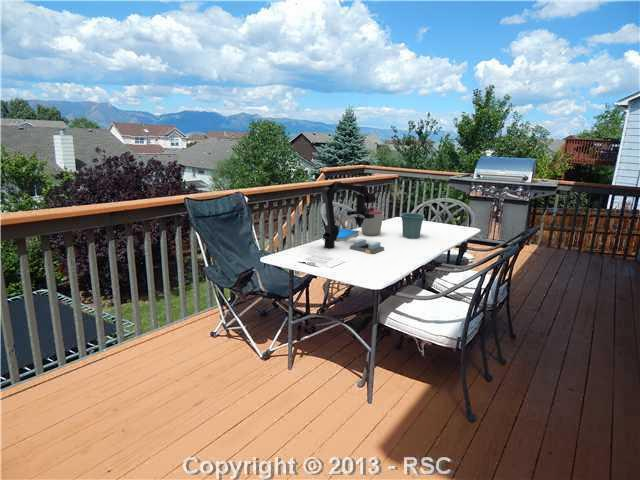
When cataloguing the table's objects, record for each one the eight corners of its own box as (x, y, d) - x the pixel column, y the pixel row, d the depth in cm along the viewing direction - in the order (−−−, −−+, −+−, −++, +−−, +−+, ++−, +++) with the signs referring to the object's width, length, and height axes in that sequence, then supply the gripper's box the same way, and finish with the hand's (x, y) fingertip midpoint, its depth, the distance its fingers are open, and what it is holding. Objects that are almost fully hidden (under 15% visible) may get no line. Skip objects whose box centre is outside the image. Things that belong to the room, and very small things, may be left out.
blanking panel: (372, 252, 251) (372, 245, 250) (368, 252, 253) (368, 244, 252) (380, 250, 258) (380, 242, 257) (376, 249, 260) (376, 241, 259)
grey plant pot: (384, 237, 295) (385, 208, 290) (359, 237, 295) (360, 208, 290) (381, 231, 312) (382, 204, 307) (357, 231, 313) (358, 204, 308)
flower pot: (421, 234, 305) (422, 213, 301) (424, 239, 289) (426, 217, 285) (398, 233, 306) (400, 212, 302) (400, 239, 290) (402, 216, 286)
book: (359, 230, 299) (345, 237, 278) (358, 236, 300) (345, 243, 279) (337, 228, 307) (322, 234, 285) (337, 233, 308) (322, 240, 286)
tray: (310, 253, 255) (310, 247, 254) (348, 263, 240) (348, 257, 239) (289, 261, 239) (289, 255, 238) (328, 272, 224) (328, 266, 223)
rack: (372, 256, 248) (373, 251, 247) (348, 250, 260) (348, 245, 259) (384, 251, 258) (384, 247, 257) (360, 246, 270) (360, 242, 269)
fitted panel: (357, 249, 258) (357, 242, 257) (353, 248, 260) (353, 241, 259) (365, 246, 265) (365, 239, 264) (361, 246, 267) (362, 238, 266)
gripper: (379, 204, 268) (378, 227, 272) (356, 201, 280) (355, 223, 284) (369, 206, 260) (368, 230, 264) (346, 203, 272) (346, 225, 276)
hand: (359, 227), depth 272 cm, fingers closed
